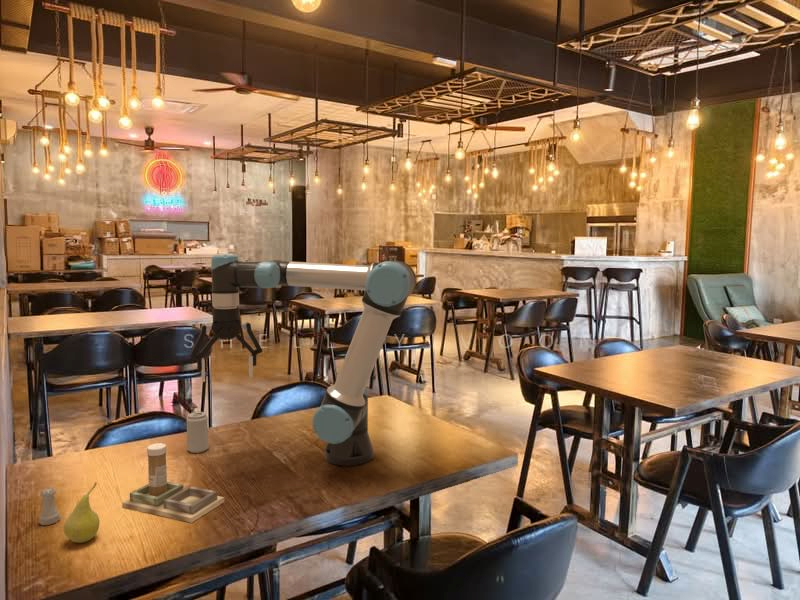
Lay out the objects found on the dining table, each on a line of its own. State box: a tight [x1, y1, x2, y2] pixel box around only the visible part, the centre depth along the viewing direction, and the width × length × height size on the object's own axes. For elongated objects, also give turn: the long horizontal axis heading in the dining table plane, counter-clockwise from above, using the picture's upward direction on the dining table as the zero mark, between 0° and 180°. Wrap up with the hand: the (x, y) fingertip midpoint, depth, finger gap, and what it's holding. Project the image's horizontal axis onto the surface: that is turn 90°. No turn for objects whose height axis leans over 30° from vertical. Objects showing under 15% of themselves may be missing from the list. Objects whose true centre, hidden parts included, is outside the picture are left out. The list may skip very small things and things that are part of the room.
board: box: [121, 481, 226, 524], centre depth 144 cm, size 22×12×3 cm, turn 69°
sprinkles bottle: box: [146, 442, 168, 497], centre depth 145 cm, size 5×5×14 cm
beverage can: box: [186, 411, 209, 454], centre depth 181 cm, size 6×6×12 cm
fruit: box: [63, 481, 100, 544], centre depth 126 cm, size 7×8×12 cm
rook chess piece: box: [38, 486, 61, 526], centre depth 134 cm, size 4×4×8 cm
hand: (227, 378), depth 166 cm, fingers open, 13 cm apart
